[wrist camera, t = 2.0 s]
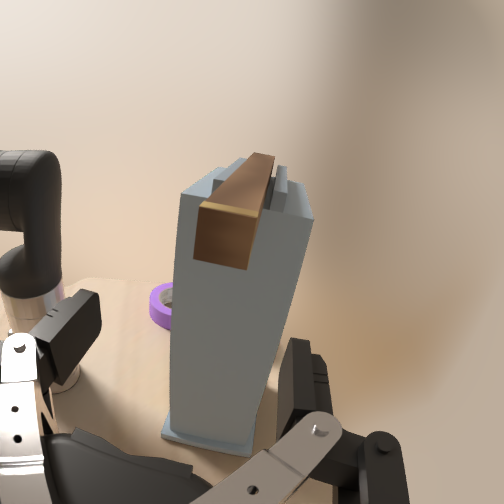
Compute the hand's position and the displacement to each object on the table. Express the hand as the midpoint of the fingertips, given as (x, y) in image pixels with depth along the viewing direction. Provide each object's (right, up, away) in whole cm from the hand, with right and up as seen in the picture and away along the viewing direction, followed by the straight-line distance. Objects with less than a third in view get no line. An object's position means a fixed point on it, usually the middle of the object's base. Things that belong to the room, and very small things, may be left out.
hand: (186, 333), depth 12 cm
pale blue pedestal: (-3, -19, +30) cm, 36 cm away
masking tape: (-12, -9, +49) cm, 52 cm away
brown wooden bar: (+2, +7, +13) cm, 15 cm away
